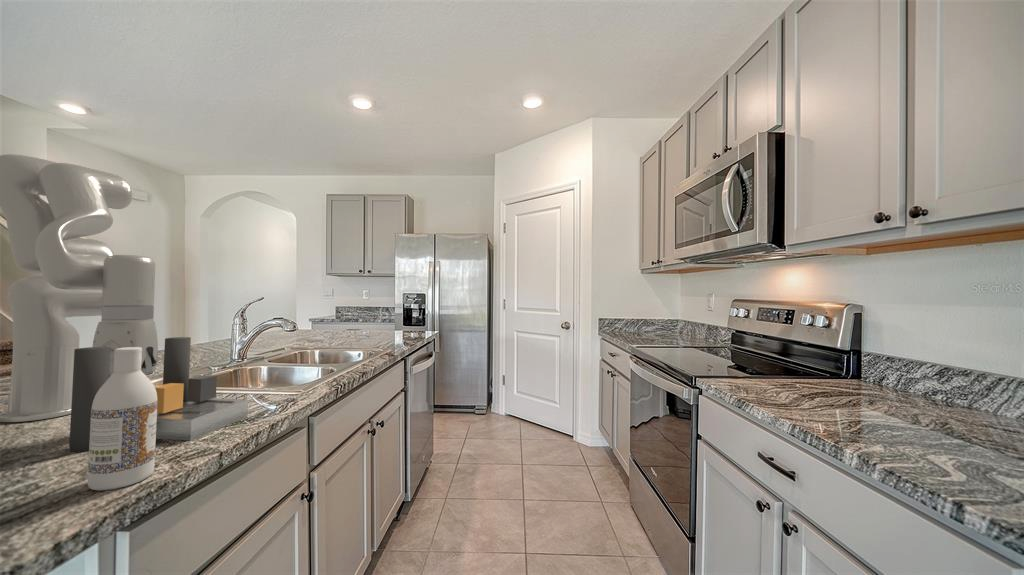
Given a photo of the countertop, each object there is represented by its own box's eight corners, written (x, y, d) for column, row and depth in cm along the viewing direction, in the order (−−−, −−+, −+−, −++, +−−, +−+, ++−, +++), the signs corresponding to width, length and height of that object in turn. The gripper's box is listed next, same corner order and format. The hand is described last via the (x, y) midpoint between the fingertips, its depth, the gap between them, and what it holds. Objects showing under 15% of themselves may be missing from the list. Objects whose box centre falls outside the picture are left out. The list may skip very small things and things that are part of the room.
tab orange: (149, 412, 73) (150, 387, 73) (169, 406, 77) (170, 383, 77) (163, 413, 73) (164, 388, 73) (182, 407, 77) (183, 383, 77)
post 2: (155, 419, 82) (159, 338, 83) (174, 413, 86) (178, 336, 87) (173, 420, 82) (177, 339, 82) (192, 414, 86) (195, 337, 87)
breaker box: (133, 437, 72) (134, 415, 72) (198, 414, 86) (199, 396, 86) (190, 440, 71) (191, 418, 71) (247, 417, 85) (248, 398, 85)
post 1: (61, 451, 65) (66, 349, 65) (91, 441, 69) (96, 346, 70) (84, 452, 65) (89, 350, 65) (112, 443, 69) (117, 347, 70)
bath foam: (143, 485, 54) (150, 350, 55) (76, 496, 51) (83, 352, 52) (161, 466, 60) (166, 344, 61) (101, 475, 57) (108, 346, 58)
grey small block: (187, 401, 81) (188, 378, 81) (203, 396, 85) (204, 375, 85) (200, 402, 81) (201, 379, 81) (215, 397, 85) (216, 375, 85)
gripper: (73, 315, 73) (69, 408, 73) (142, 315, 72) (138, 410, 71) (116, 313, 81) (112, 398, 80) (179, 314, 80) (176, 399, 79)
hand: (125, 403), depth 76 cm, fingers closed
